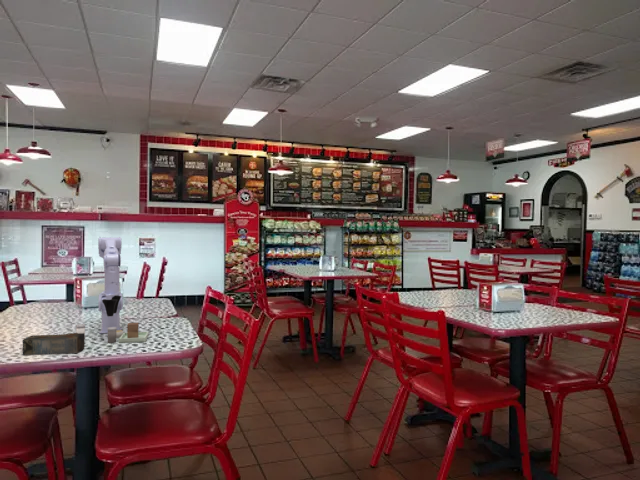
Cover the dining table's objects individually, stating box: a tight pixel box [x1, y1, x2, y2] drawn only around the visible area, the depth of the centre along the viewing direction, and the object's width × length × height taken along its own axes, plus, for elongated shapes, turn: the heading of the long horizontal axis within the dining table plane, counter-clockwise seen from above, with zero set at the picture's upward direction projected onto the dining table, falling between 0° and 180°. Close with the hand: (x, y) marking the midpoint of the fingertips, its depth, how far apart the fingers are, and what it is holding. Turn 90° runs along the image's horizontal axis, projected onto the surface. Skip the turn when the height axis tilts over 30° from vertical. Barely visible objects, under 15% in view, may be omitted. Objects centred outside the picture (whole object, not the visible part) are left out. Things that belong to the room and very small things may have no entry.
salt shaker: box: [75, 323, 86, 336], centre depth 194 cm, size 3×3×6 cm
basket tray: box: [118, 331, 150, 344], centre depth 195 cm, size 12×10×2 cm
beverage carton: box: [22, 332, 86, 356], centre depth 174 cm, size 8×19×7 cm, turn 101°
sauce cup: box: [116, 329, 124, 339], centre depth 200 cm, size 4×4×3 cm
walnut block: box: [126, 322, 139, 338], centre depth 195 cm, size 4×4×6 cm
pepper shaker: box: [107, 327, 117, 344], centre depth 189 cm, size 3×3×6 cm
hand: (111, 314), depth 197 cm, fingers open, 7 cm apart
